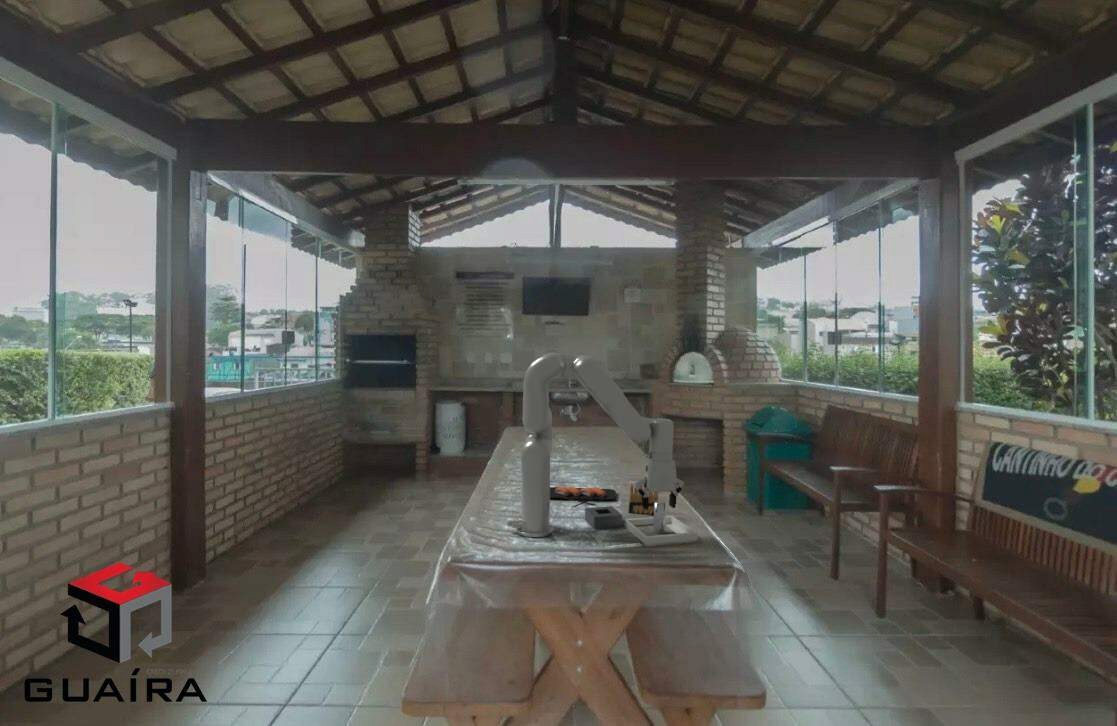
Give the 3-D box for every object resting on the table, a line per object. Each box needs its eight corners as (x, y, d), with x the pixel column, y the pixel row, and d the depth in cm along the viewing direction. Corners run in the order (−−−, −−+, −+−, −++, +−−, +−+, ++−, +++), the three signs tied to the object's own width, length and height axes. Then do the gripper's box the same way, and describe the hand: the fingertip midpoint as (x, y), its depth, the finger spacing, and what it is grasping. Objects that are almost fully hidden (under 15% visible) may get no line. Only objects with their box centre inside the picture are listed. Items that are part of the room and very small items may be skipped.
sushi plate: (615, 493, 243) (615, 484, 243) (616, 516, 213) (616, 506, 213) (546, 491, 246) (546, 482, 245) (538, 513, 216) (538, 503, 216)
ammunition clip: (628, 515, 212) (628, 483, 212) (628, 514, 214) (628, 482, 213) (658, 517, 211) (658, 484, 210) (657, 515, 213) (658, 483, 212)
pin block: (594, 531, 195) (594, 517, 195) (584, 522, 204) (585, 508, 204) (622, 529, 198) (622, 514, 197) (611, 520, 207) (611, 506, 207)
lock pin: (656, 534, 190) (656, 504, 190) (651, 531, 194) (652, 501, 193) (666, 534, 191) (667, 504, 191) (661, 530, 195) (662, 500, 194)
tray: (645, 547, 181) (645, 537, 181) (623, 528, 199) (623, 519, 199) (697, 542, 186) (697, 533, 186) (671, 524, 204) (671, 515, 203)
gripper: (640, 459, 185) (639, 512, 186) (689, 458, 190) (687, 509, 191) (631, 454, 192) (630, 505, 193) (679, 453, 197) (677, 502, 198)
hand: (658, 507), depth 192 cm, fingers open, 9 cm apart
